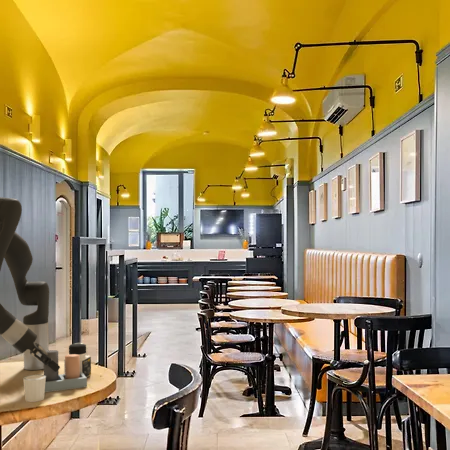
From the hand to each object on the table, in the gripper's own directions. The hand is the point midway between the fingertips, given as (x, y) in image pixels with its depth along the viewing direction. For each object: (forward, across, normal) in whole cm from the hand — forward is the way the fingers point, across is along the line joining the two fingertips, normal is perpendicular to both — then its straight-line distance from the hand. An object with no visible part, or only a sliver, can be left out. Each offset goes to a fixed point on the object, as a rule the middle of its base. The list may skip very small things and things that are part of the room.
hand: (56, 367), depth 196 cm
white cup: (-1, -11, +11) cm, 15 cm away
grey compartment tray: (+6, 0, +3) cm, 7 cm away
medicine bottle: (+11, +10, -1) cm, 15 cm away
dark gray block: (+2, 0, +4) cm, 5 cm away
